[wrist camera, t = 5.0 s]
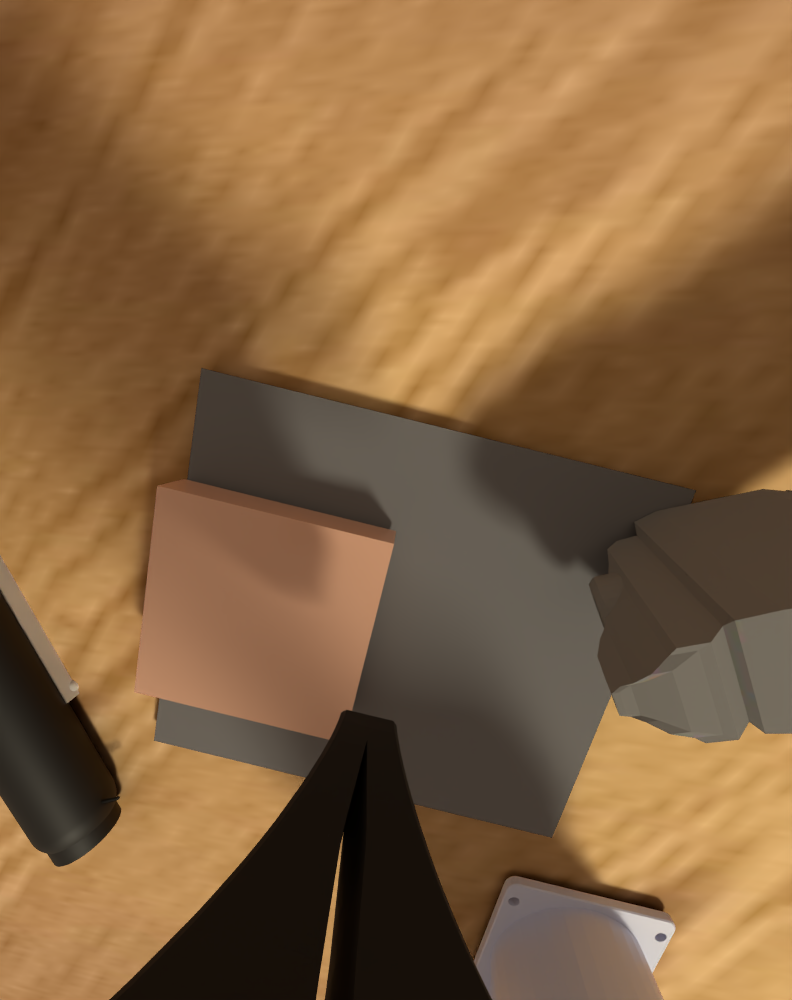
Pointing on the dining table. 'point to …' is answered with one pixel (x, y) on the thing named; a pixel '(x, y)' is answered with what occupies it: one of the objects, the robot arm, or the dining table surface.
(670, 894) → the dining table surface
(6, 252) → the dining table surface
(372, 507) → the mat
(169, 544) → the tile
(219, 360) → the dining table surface
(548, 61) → the dining table surface
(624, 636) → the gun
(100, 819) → the door handle
